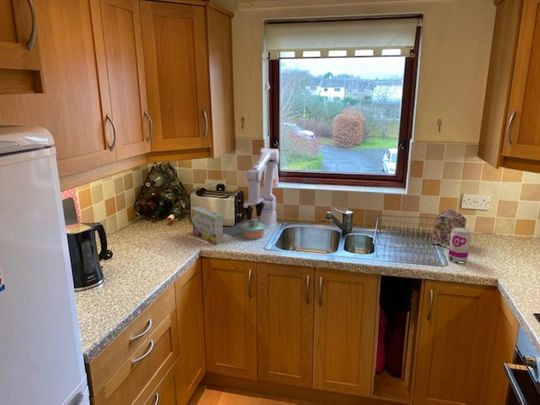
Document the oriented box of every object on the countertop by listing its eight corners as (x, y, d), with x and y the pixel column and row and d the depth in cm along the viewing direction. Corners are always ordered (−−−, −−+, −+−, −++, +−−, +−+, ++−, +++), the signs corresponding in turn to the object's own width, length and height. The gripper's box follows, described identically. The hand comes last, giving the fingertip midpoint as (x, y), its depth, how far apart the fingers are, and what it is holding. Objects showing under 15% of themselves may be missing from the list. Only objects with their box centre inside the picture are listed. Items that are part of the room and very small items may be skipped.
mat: (233, 224, 239) (233, 223, 239) (253, 230, 231) (253, 229, 230) (213, 231, 227) (213, 230, 227) (234, 237, 218) (234, 236, 218)
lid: (252, 222, 228) (252, 213, 227) (270, 227, 220) (270, 218, 219) (236, 228, 218) (236, 219, 217) (255, 233, 210) (255, 224, 209)
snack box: (191, 234, 222) (190, 207, 218) (200, 232, 226) (200, 206, 222) (214, 245, 207) (214, 216, 203) (223, 243, 210) (223, 214, 207)
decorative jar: (452, 249, 205) (457, 215, 200) (430, 243, 214) (434, 209, 209) (463, 244, 213) (468, 210, 208) (441, 238, 221) (445, 205, 217)
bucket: (252, 232, 227) (252, 223, 226) (267, 236, 221) (267, 227, 220) (240, 237, 219) (240, 228, 218) (255, 241, 213) (255, 232, 212)
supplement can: (464, 265, 186) (468, 234, 183) (445, 260, 192) (449, 230, 188) (469, 260, 192) (473, 229, 188) (451, 255, 198) (455, 225, 194)
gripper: (257, 189, 222) (256, 213, 226) (238, 194, 211) (239, 219, 214) (267, 191, 218) (267, 216, 221) (249, 196, 207) (249, 222, 210)
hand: (254, 218), depth 218 cm, fingers open, 7 cm apart
